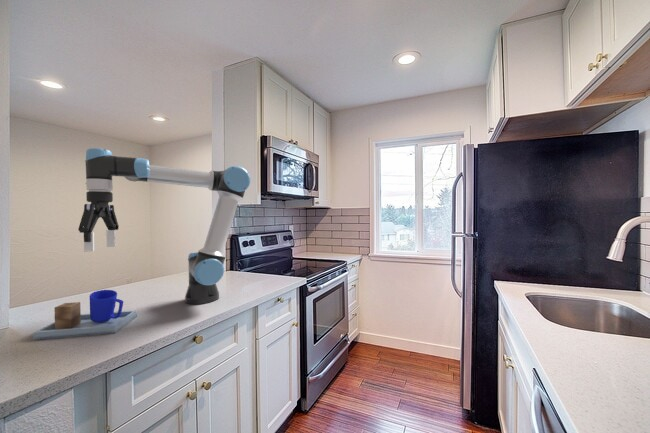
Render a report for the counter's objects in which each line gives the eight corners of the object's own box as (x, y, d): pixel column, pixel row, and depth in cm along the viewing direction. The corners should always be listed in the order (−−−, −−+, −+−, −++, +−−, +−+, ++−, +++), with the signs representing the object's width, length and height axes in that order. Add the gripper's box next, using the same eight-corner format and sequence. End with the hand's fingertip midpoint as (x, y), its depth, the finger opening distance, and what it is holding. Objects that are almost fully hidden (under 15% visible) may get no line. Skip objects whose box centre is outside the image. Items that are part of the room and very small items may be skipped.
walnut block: (80, 323, 104) (80, 302, 104) (71, 328, 99) (70, 306, 99) (65, 324, 103) (64, 303, 103) (55, 330, 98) (54, 307, 98)
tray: (136, 316, 113) (136, 310, 113) (115, 333, 97) (115, 326, 97) (67, 321, 108) (67, 315, 108) (33, 340, 92) (33, 332, 92)
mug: (110, 329, 101) (112, 303, 100) (81, 321, 103) (83, 296, 102) (129, 318, 110) (131, 294, 108) (102, 311, 111) (104, 287, 110)
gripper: (107, 193, 114) (108, 245, 114) (63, 188, 90) (64, 254, 90) (128, 193, 116) (129, 244, 116) (89, 188, 91) (91, 253, 91)
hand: (100, 249), depth 103 cm, fingers open, 13 cm apart
